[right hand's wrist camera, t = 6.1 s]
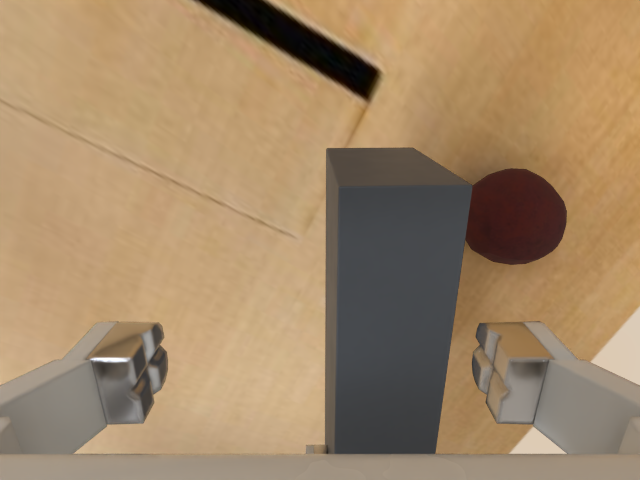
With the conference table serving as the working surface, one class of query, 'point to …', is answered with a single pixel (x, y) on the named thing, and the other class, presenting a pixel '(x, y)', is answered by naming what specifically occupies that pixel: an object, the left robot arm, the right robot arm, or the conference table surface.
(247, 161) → the conference table surface
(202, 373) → the conference table surface
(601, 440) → the right robot arm
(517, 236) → the potato
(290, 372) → the conference table surface
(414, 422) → the bar
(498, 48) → the conference table surface
